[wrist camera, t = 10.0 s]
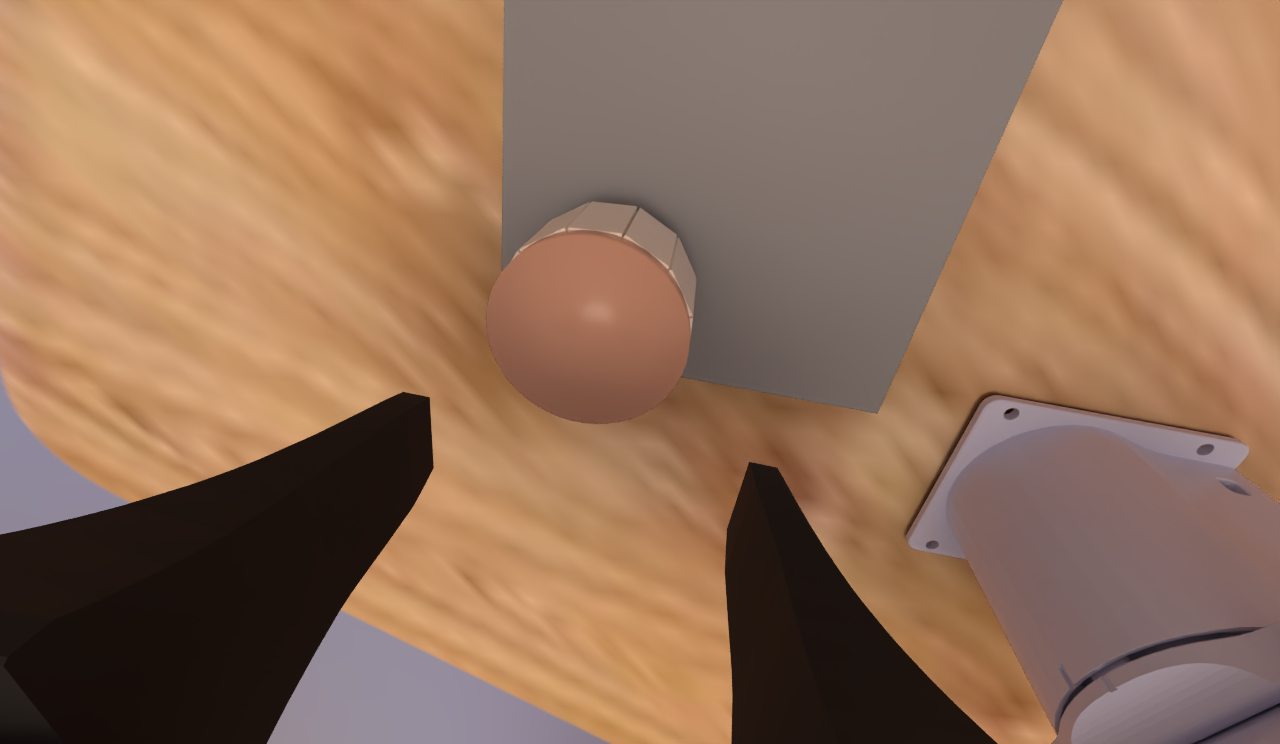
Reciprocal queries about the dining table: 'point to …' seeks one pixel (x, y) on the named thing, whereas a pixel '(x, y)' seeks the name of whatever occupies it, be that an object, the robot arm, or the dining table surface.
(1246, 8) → the dining table surface
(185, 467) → the dining table surface
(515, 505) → the dining table surface
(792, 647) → the robot arm
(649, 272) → the cap
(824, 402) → the knob mounting plate
